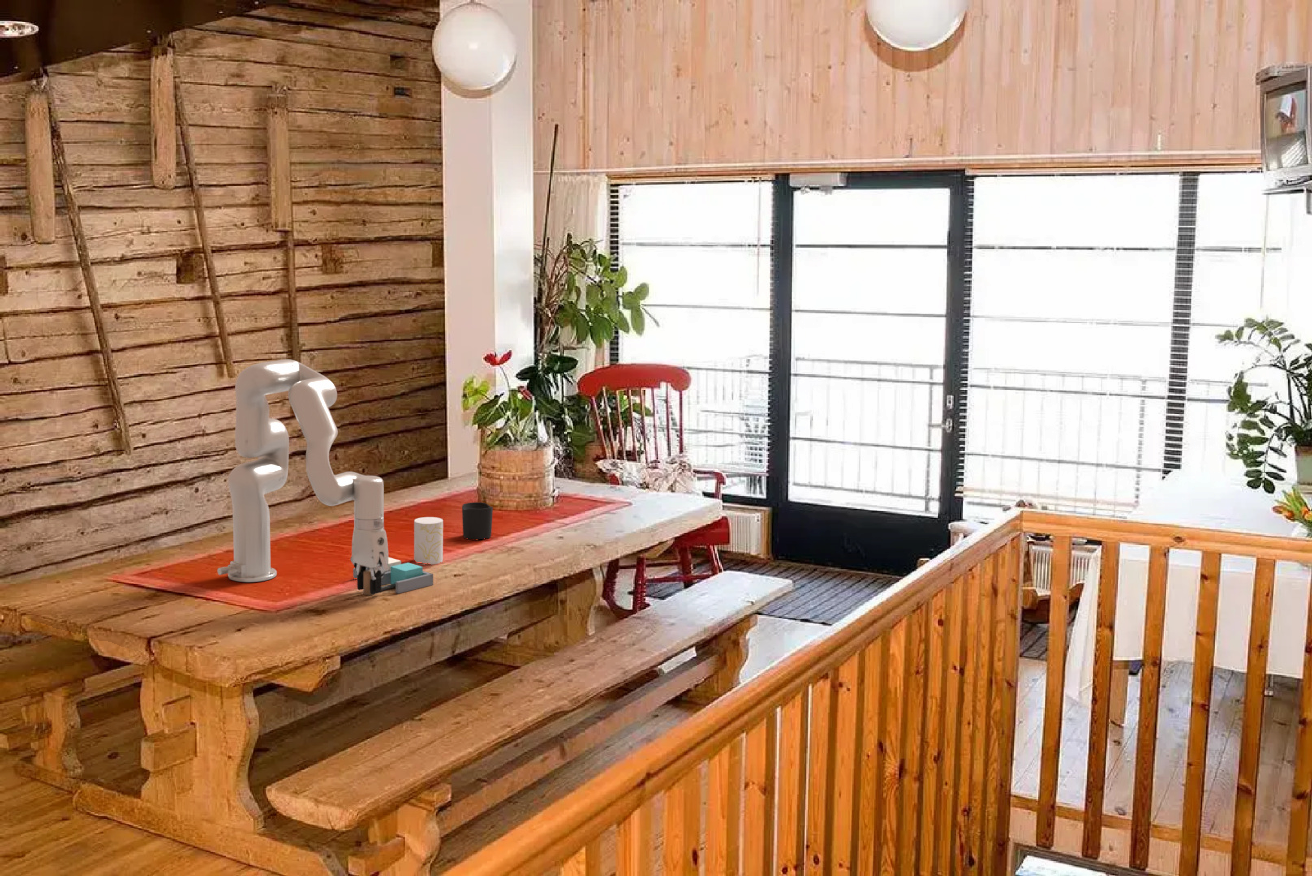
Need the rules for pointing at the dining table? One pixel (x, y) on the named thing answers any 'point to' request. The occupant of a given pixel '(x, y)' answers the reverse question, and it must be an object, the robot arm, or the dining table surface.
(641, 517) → the dining table surface
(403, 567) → the teal block with handle
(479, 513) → the pen holder
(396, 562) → the off-white block
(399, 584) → the lane rack
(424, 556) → the cup
